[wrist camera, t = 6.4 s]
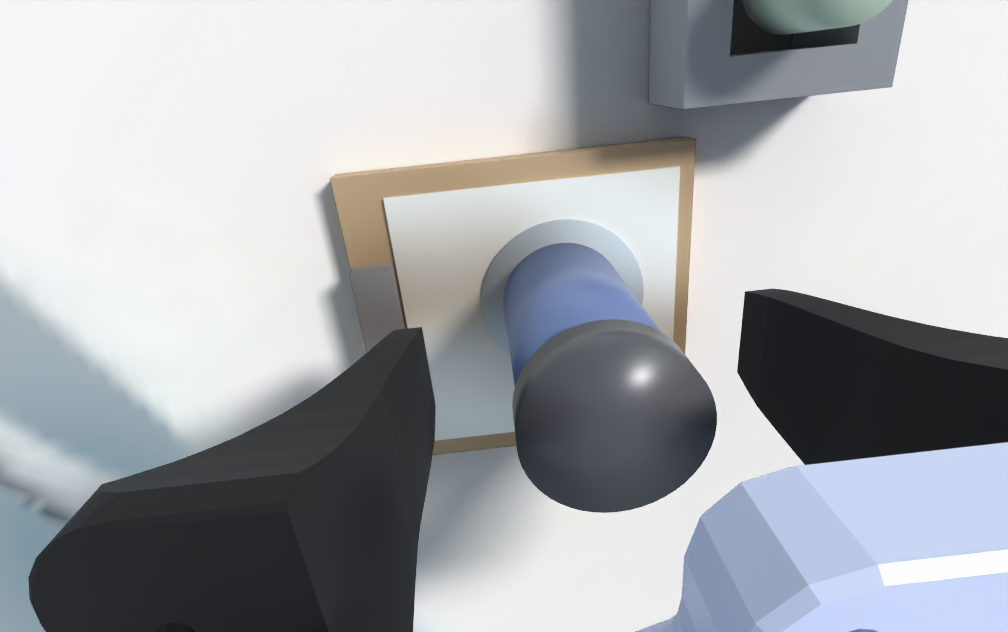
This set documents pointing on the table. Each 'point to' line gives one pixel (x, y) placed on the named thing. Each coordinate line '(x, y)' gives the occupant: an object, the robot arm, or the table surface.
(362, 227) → the clipboard
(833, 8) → the button
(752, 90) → the button housing
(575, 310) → the blue small bottle
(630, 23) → the table surface
